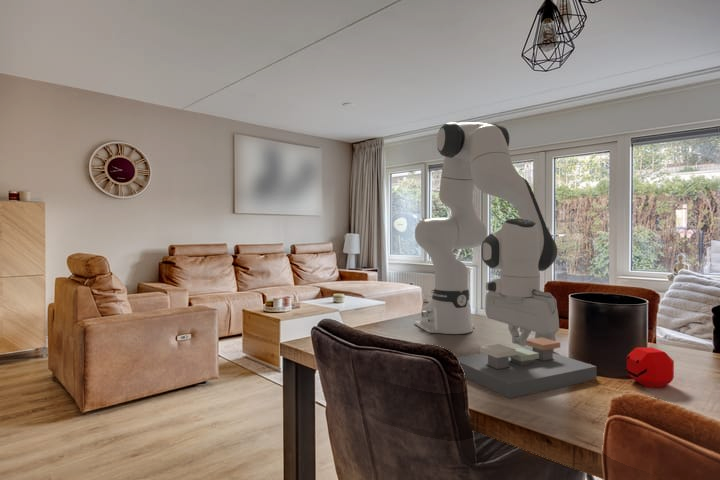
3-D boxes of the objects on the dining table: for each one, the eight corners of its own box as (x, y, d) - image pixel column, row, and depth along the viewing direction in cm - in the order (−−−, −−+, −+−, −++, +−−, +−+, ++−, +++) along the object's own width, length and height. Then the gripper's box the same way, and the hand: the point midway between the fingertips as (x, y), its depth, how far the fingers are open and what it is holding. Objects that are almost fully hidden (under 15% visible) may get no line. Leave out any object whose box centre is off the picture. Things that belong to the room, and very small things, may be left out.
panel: (450, 370, 106) (450, 358, 106) (529, 356, 116) (529, 345, 116) (509, 398, 88) (509, 384, 88) (596, 379, 98) (596, 366, 98)
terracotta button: (525, 356, 106) (525, 339, 106) (541, 353, 109) (541, 337, 108) (543, 362, 101) (543, 345, 101) (560, 359, 103) (560, 342, 103)
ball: (620, 378, 99) (620, 345, 99) (653, 377, 99) (653, 344, 99) (646, 391, 91) (646, 355, 91) (681, 389, 91) (681, 354, 91)
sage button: (503, 367, 103) (503, 350, 103) (520, 364, 106) (520, 347, 106) (520, 374, 98) (520, 356, 98) (538, 370, 101) (538, 353, 101)
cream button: (480, 364, 100) (480, 346, 100) (498, 361, 103) (498, 343, 103) (497, 371, 95) (497, 352, 95) (516, 367, 98) (516, 349, 98)
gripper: (566, 292, 94) (565, 355, 94) (500, 281, 112) (499, 333, 113) (545, 294, 91) (544, 358, 92) (481, 282, 110) (480, 336, 110)
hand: (519, 344), depth 102 cm, fingers closed
